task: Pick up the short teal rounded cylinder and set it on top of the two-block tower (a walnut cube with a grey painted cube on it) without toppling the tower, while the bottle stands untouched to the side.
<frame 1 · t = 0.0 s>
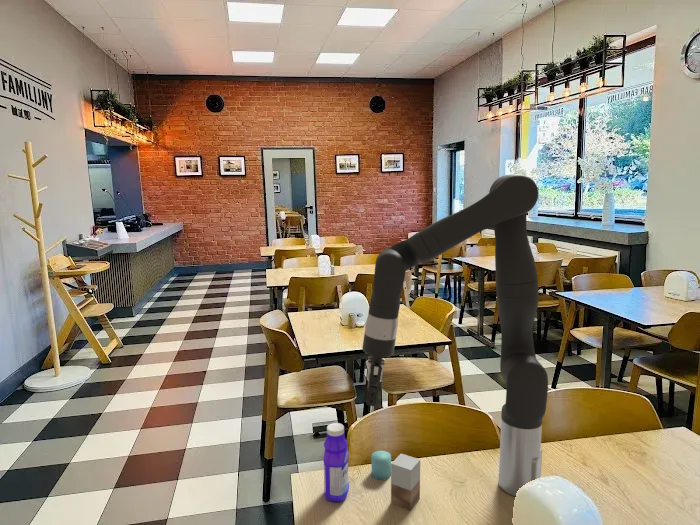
hand: (371, 397, 116), 22 cm above the table, tool pointing down, fingers open, 8 cm apart
mid block: (405, 481, 112), point 5 cm above the table, touching base block
teal rounded cylinder: (381, 474, 123), on the table
bottle: (336, 495, 115), on the table
base block: (405, 501, 112), on the table, touching mid block
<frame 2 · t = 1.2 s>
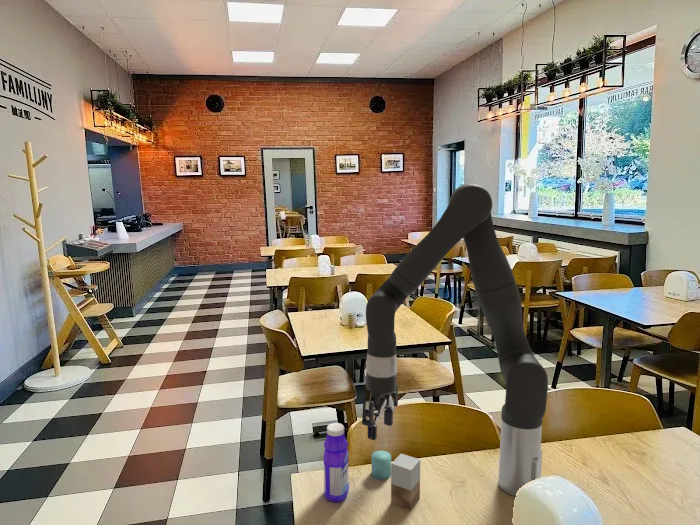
hand: (380, 431, 121), 12 cm above the table, tool pointing down, fingers open, 8 cm apart
nothing on the table moved.
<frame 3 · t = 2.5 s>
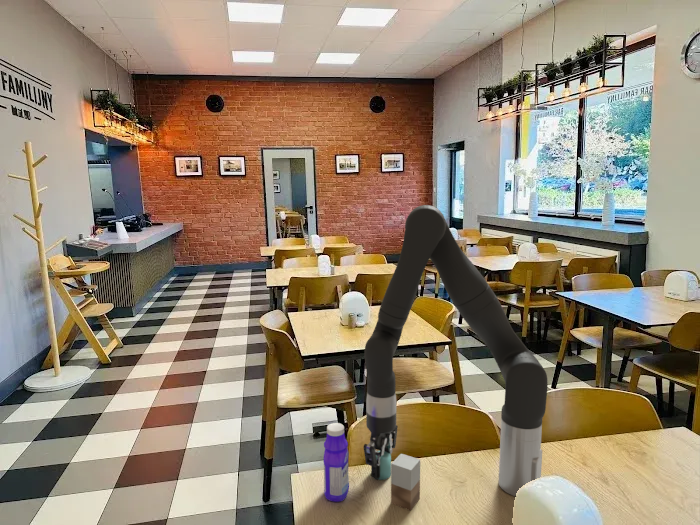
hand: (381, 471, 123), 1 cm above the table, tool pointing down, fingers closed on teal rounded cylinder, 5 cm apart
teal rounded cylinder: (381, 473, 123), on the table, touching gripper
everything else where it was.
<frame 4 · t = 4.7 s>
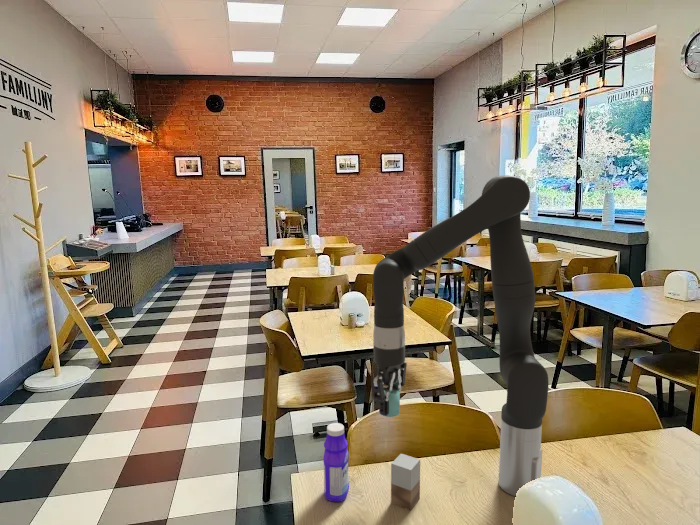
hand: (389, 409, 117), 19 cm above the table, tool pointing down, fingers closed on teal rounded cylinder, 5 cm apart
teal rounded cylinder: (389, 412, 117), point 18 cm above the table, touching gripper
everything else where it was.
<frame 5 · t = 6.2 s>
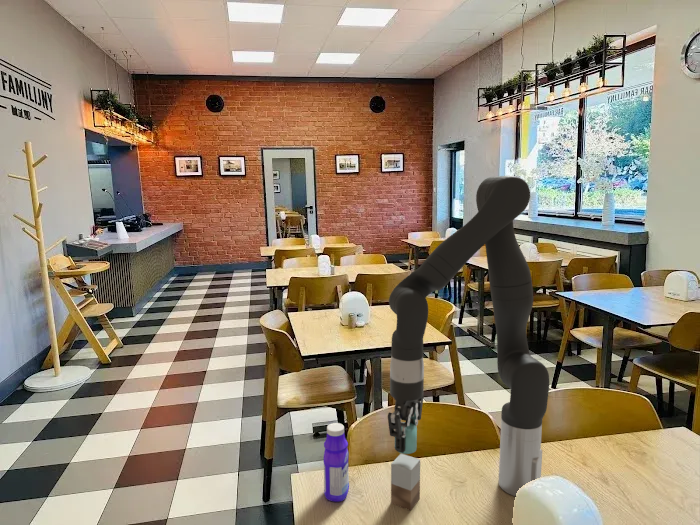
hand: (405, 445, 110), 14 cm above the table, tool pointing down, fingers closed on teal rounded cylinder, 5 cm apart
teal rounded cylinder: (405, 447, 110), point 13 cm above the table, touching gripper
everything else where it was.
when the fingers open (12 cm above the table, at t = 7.0 s): teal rounded cylinder drops 1 cm, resting on mid block.
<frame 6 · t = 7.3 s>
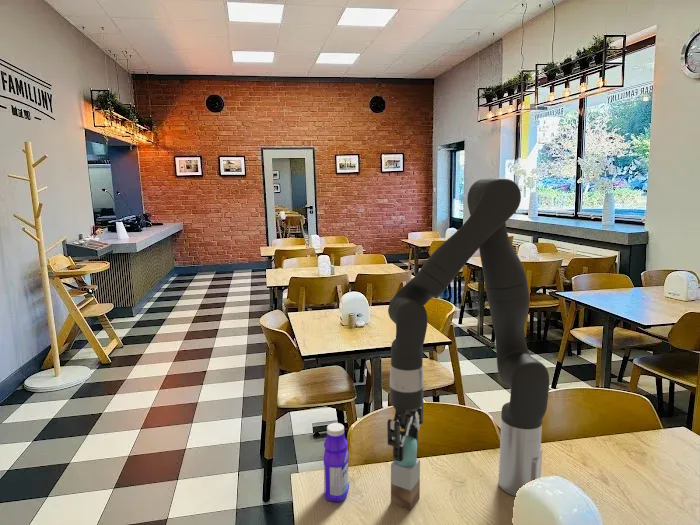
hand: (405, 451, 110), 12 cm above the table, tool pointing down, fingers open, 7 cm apart
mid block: (405, 481, 112), point 5 cm above the table, touching base block, teal rounded cylinder
teal rounded cylinder: (405, 461, 111), point 10 cm above the table, touching mid block
everything else where it was.
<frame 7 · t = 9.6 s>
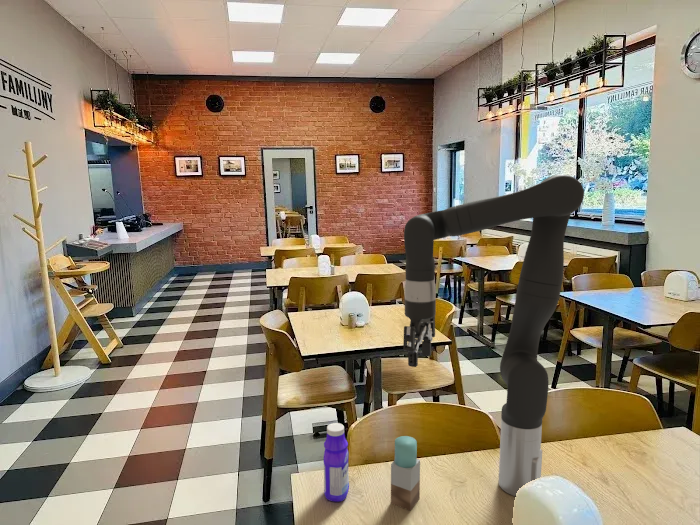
hand: (419, 360, 120), 30 cm above the table, tool pointing down, fingers open, 8 cm apart
nothing on the table moved.
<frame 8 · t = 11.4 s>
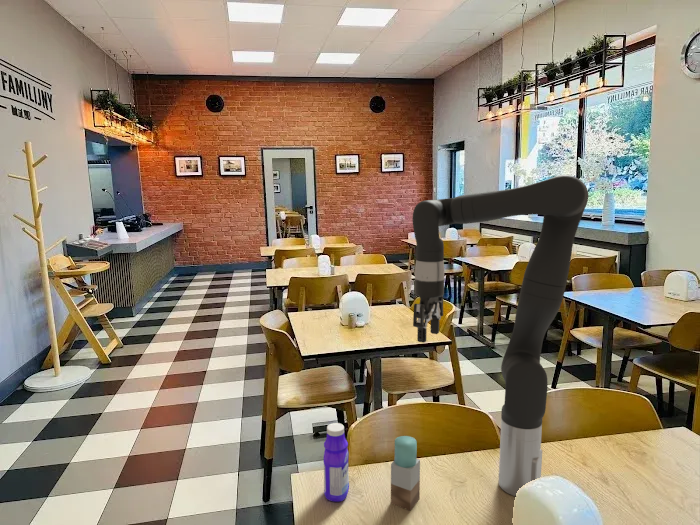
hand: (428, 337, 127), 33 cm above the table, tool pointing down, fingers open, 8 cm apart
nothing on the table moved.
at the end: teal rounded cylinder 0.0 cm from the base block (horizontally); teal rounded cylinder point 9.9 cm above the table; mid block tilted 0° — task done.
